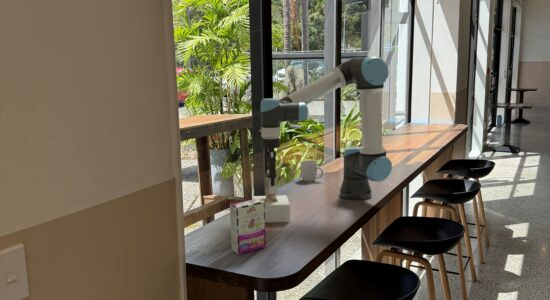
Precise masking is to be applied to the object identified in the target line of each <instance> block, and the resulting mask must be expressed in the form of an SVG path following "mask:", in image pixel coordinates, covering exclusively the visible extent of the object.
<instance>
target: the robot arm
mask: <svg viewBox="0 0 550 300" xmlns="http://www.w3.org/2000/svg"><path fill="white" fill-rule="evenodd" d="M389 75H390V74H389V66H388V65H387V63H386V61H385V60H384V59H383V58H381V57H378V56H371V55H370V56H356V57H353V58H350V59H348V60H346V61H344V62H342V63H341V64H339V65H337V66H335V67H333V68H332V70H331V71H330V72H329V73H327V74H326V75H323V76H321V77H319V78H317V79H316V80H313V81H312V82H310V83H308V84H307V85H305V86H303V87H300V88H299V89H297V90H296V91H293V92H291V93H289V94H288V95H286V96H284V97H282V98H281V99H279V98H269V97H268V98H263V99H262V100H261V101H260V128H261V129H259V132H260V133H261V135H260V136H261V140H260V141H261V142H260V143H261V144H260V145H261V147H262V148H263V149H266V151H265V158H266V173H269V176H267V178H269V194H276V195H277V169H276V166H277V164H276V161H277V151H276V150H275V149H278V148H280V147H281V138H280V137H281V123H284V122H285V123H286V122H301V121H306V119H308V116H309V108H308V105H309V104H311V103H313V102H315V101H317V100H318V99H320V98H322V97H324V96H326V95H328V94H329V93H331V92H333V91H335V90H336V89H338V88H342V89H343V88H346V87H347V86H350V85H355V90H356V91H357V92H358V93H359V95H360V97H359V98H360V99H359V100H360V117H361V121H360V122H361V139H362V141H361V142H362V143H361V144H362V147H349V148H345V149H344V151H343V179H342V183H341V186H340V189H339V195H338V196H340V198H343V199H347V200H356V201H357V200H360V201H361V200H368V199H370V198H372V195H373V192H372V189H371V185H370V182H375V183H381V182H383V181H385V180H386V179H388V177H389V176H390V174H391V172H392V169H393V164H392V161H391V159H390V158H389V157H387V149H386V148H385V147H384V146H383V128H382V127H383V126H382V125H383V124H382V103H381V100H382V99H381V98H382V97H381V92H382V90H383V89H384V88H385V87H384V83H385V82H386V81H387V79H388V77H389Z"/></svg>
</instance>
